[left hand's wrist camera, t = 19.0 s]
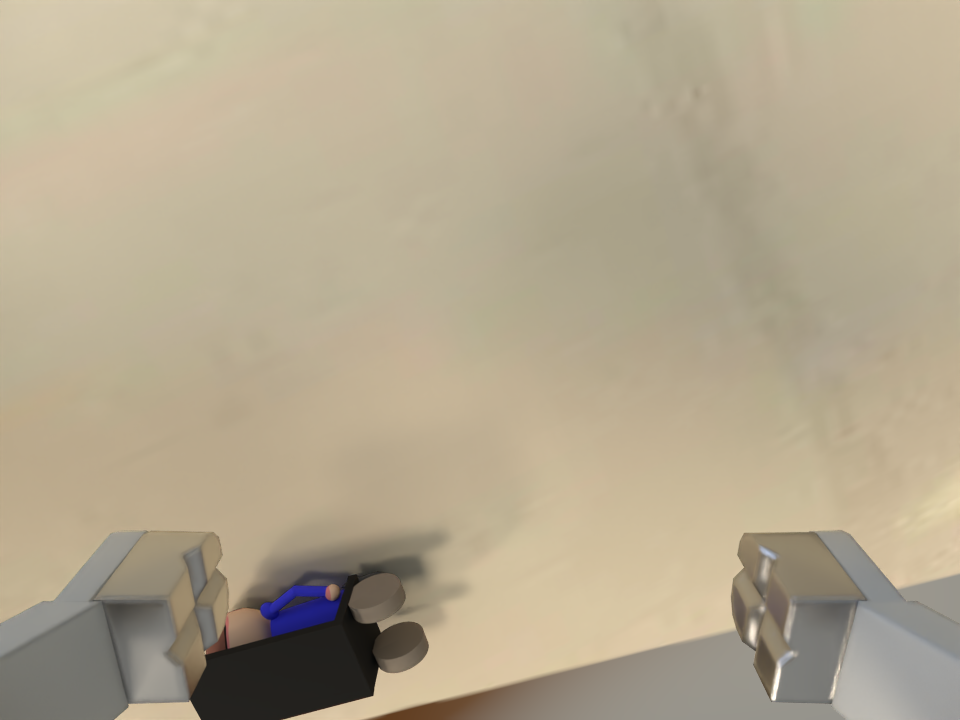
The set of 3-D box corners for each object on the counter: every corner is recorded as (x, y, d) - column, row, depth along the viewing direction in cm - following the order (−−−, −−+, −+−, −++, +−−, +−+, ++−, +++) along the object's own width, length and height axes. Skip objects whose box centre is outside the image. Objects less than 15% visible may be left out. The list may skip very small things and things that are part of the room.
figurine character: (397, 530, 49) (198, 596, 49) (397, 601, 41) (164, 679, 41) (428, 602, 51) (238, 665, 51) (432, 680, 44) (212, 753, 44)
